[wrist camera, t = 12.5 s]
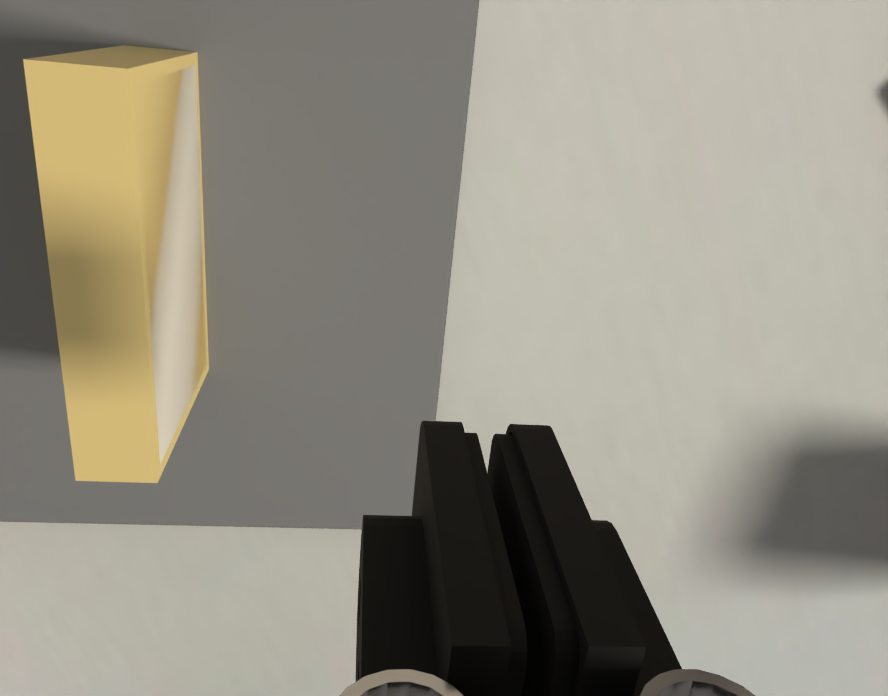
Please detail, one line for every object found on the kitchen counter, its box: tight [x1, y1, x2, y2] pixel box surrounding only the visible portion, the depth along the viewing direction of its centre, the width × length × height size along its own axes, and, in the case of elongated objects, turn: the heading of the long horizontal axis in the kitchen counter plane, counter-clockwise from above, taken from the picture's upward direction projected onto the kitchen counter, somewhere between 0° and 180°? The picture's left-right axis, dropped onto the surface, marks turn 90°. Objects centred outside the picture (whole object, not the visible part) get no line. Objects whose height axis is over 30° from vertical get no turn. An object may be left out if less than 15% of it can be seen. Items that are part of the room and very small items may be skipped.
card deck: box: [23, 45, 209, 483], centre depth 18 cm, size 9×2×6 cm, turn 175°
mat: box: [0, 0, 479, 529], centre depth 21 cm, size 20×16×1 cm
